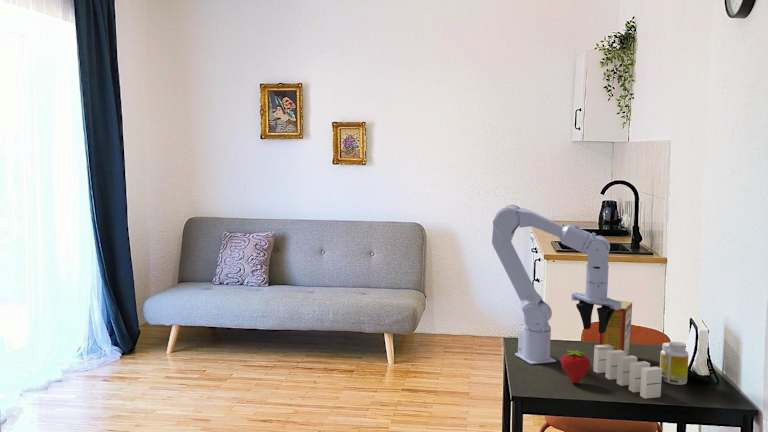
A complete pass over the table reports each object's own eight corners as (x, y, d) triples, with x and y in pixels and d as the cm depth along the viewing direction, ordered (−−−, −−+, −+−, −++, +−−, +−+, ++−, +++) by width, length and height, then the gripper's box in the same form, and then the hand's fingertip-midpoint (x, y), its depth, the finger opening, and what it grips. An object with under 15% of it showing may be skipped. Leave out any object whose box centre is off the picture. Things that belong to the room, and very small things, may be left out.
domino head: (593, 370, 207) (594, 345, 206) (607, 369, 209) (608, 344, 208) (597, 373, 205) (598, 347, 204) (611, 371, 207) (613, 346, 206)
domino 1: (605, 377, 202) (606, 351, 201) (619, 375, 203) (620, 349, 203) (609, 379, 200) (611, 353, 199) (624, 378, 202) (625, 352, 201)
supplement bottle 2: (691, 384, 198) (694, 345, 196) (675, 387, 195) (678, 347, 194) (674, 377, 203) (677, 339, 201) (659, 380, 200) (661, 341, 199)
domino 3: (628, 389, 193) (630, 362, 192) (643, 388, 194) (645, 361, 193) (633, 392, 191) (635, 364, 190) (648, 390, 192) (650, 363, 191)
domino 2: (616, 383, 197) (618, 356, 197) (631, 381, 199) (632, 355, 198) (621, 385, 195) (622, 359, 195) (636, 384, 197) (637, 357, 196)
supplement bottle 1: (679, 379, 201) (681, 347, 200) (660, 377, 202) (662, 346, 201) (676, 373, 206) (678, 342, 205) (658, 371, 207) (659, 341, 206)
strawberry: (583, 389, 192) (585, 350, 191) (555, 383, 197) (557, 344, 196) (593, 383, 197) (595, 345, 196) (565, 377, 201) (567, 339, 200)
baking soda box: (606, 352, 224) (608, 298, 222) (629, 355, 221) (632, 301, 219) (598, 361, 216) (601, 304, 214) (622, 364, 213) (625, 307, 211)
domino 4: (640, 395, 188) (641, 368, 188) (655, 394, 190) (656, 366, 189) (645, 398, 187) (646, 370, 186) (660, 396, 188) (662, 368, 187)
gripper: (565, 278, 211) (563, 327, 213) (611, 288, 200) (609, 339, 202) (581, 276, 216) (579, 323, 218) (626, 284, 205) (624, 334, 207)
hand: (594, 330), depth 210 cm, fingers open, 4 cm apart
